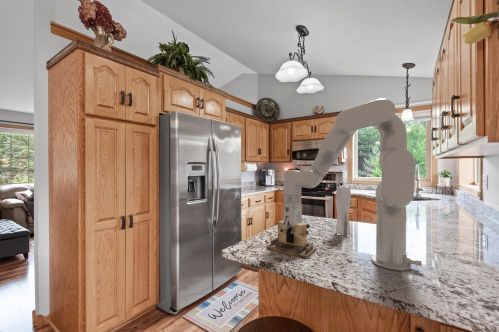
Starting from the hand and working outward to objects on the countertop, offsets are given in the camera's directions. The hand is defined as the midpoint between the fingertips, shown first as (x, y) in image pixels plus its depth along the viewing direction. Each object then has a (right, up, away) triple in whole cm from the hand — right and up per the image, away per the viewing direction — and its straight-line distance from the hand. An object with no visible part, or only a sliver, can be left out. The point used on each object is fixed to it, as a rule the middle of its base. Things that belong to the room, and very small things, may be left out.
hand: (291, 241), depth 100 cm
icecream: (+6, -4, +22) cm, 24 cm away
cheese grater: (+32, -5, +25) cm, 41 cm away
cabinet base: (0, -4, 0) cm, 4 cm away
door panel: (0, -1, 0) cm, 1 cm away
